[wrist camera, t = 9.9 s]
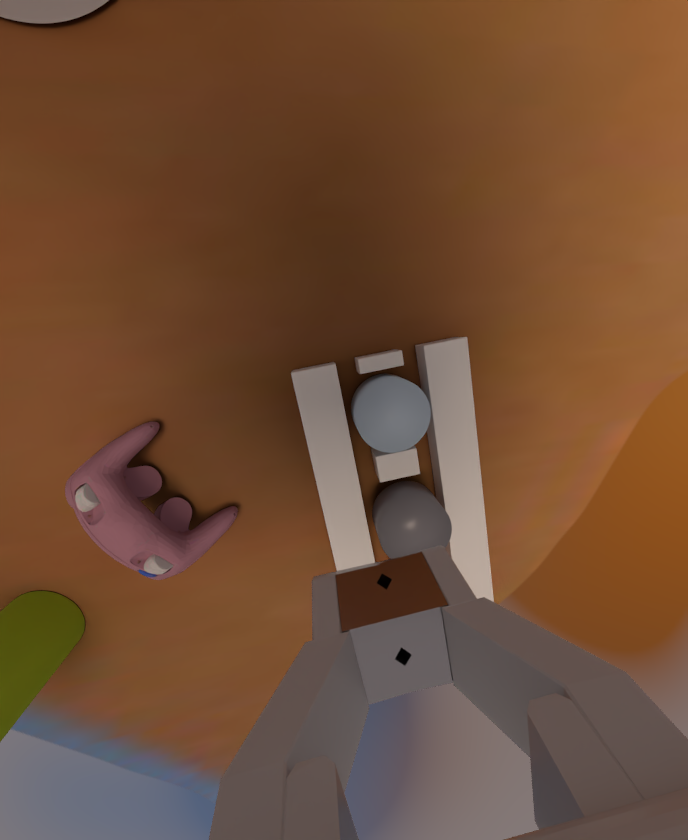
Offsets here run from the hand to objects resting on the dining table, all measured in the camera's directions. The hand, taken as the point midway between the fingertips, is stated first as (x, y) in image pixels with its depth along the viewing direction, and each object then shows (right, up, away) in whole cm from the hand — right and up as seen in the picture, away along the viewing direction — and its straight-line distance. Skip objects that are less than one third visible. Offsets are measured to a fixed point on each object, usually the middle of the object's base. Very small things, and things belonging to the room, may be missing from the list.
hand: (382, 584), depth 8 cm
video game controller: (-14, -1, +18) cm, 23 cm away
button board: (+4, -3, +20) cm, 20 cm away
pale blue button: (+2, +5, +17) cm, 18 cm away
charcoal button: (+4, -3, +18) cm, 19 cm away
